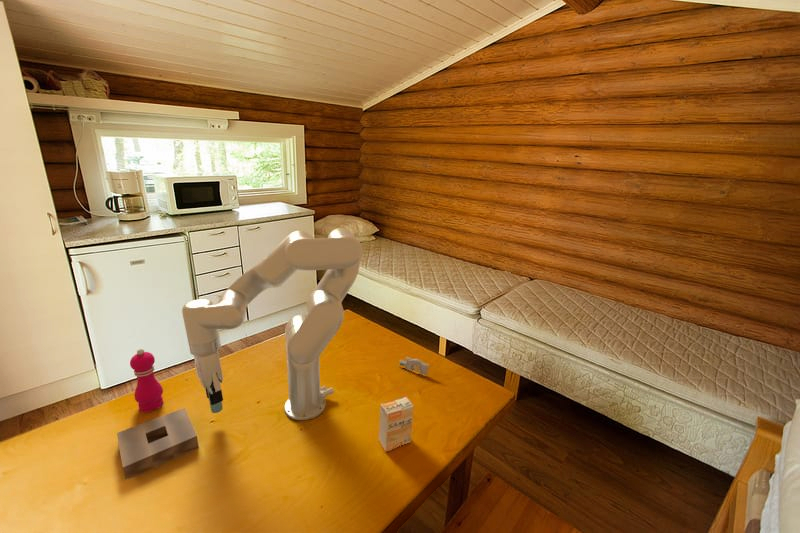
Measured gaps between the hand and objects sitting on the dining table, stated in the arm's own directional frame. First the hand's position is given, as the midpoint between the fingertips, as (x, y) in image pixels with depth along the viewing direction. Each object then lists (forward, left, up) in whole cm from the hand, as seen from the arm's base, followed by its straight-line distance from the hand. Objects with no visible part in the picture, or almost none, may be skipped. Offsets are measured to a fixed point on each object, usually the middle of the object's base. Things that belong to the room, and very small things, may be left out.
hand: (215, 398), depth 103 cm
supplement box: (-36, +39, -9) cm, 54 cm away
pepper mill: (+14, -20, -9) cm, 26 cm away
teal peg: (0, 0, -4) cm, 4 cm away
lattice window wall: (-64, +17, -9) cm, 67 cm away
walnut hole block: (+15, 0, -8) cm, 17 cm away
